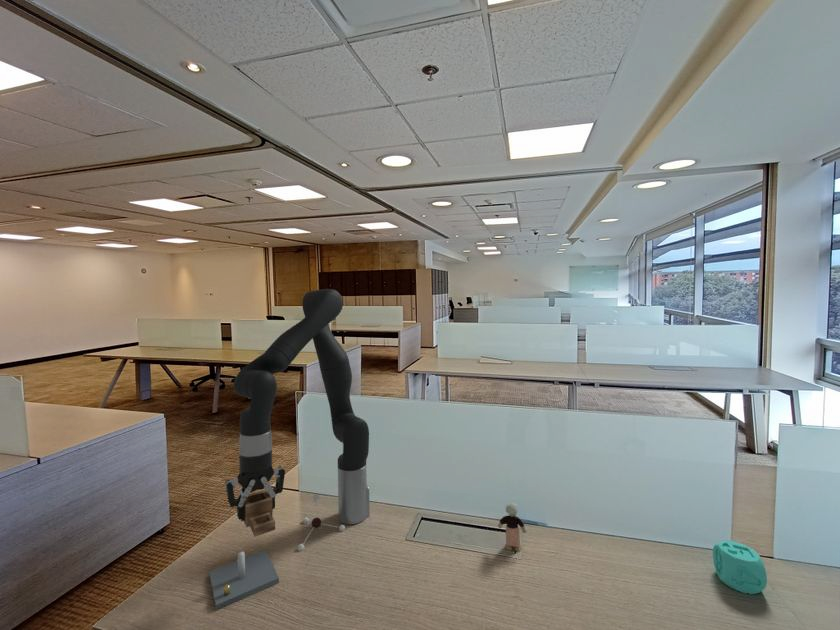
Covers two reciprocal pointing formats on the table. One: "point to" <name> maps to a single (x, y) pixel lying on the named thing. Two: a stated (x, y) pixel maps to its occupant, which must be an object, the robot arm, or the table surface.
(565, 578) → the table surface
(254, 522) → the brown hollow open box
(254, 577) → the slate board
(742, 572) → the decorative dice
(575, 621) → the table surface
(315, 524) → the molecular model
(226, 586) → the brass dowel
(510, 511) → the grandmother figurine
